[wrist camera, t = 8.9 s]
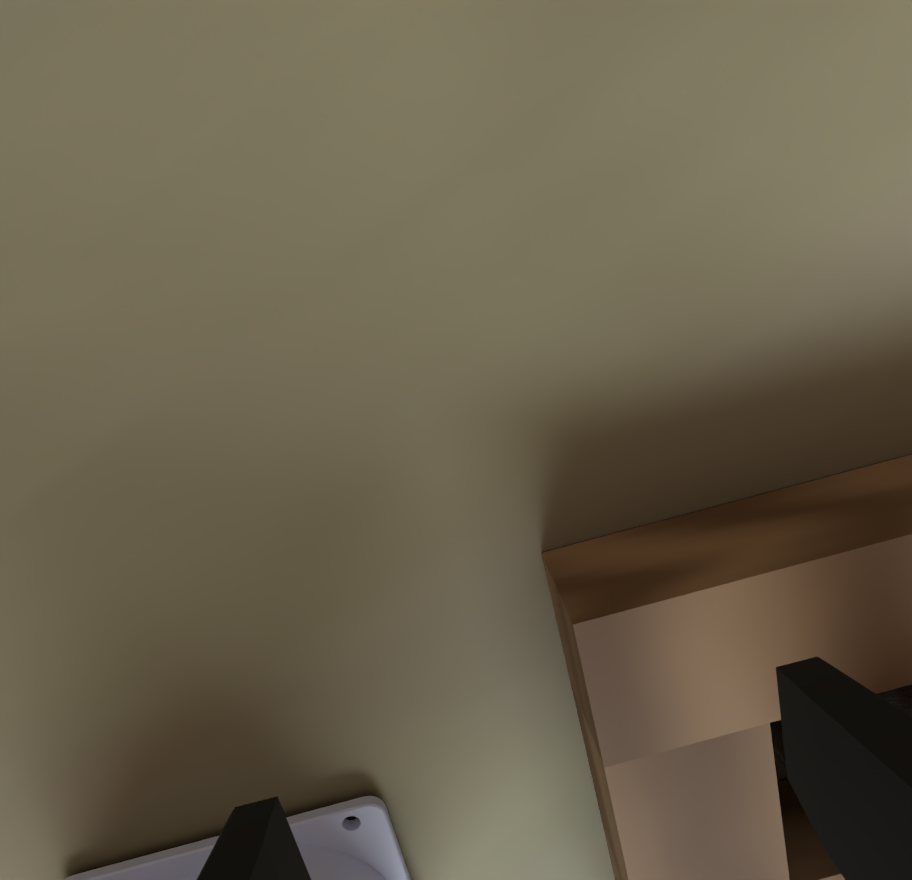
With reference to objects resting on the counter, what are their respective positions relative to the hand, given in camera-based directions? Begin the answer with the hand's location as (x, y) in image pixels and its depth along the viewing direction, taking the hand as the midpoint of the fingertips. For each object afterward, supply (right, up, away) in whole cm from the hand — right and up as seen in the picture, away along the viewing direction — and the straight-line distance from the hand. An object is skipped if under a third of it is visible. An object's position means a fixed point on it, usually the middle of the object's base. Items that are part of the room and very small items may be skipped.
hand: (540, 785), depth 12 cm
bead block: (+9, -3, +13) cm, 16 cm away
